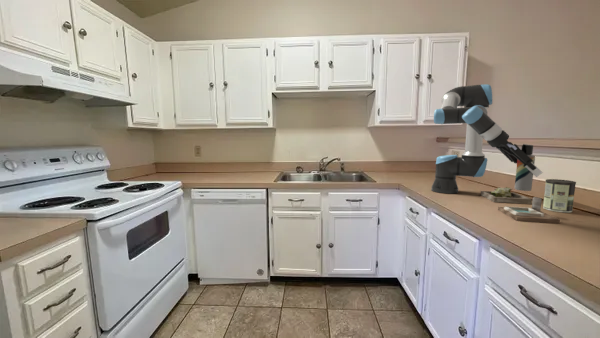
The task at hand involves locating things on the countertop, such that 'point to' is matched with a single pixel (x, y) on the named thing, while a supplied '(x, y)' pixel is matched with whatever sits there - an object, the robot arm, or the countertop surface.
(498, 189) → the fruit
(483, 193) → the square wooden tray
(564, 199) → the coffee can
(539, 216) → the template board
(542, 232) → the countertop surface
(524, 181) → the lotion bottle
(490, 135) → the robot arm
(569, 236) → the countertop surface
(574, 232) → the countertop surface
